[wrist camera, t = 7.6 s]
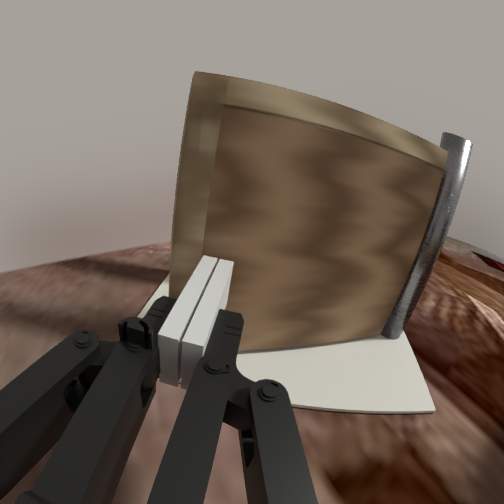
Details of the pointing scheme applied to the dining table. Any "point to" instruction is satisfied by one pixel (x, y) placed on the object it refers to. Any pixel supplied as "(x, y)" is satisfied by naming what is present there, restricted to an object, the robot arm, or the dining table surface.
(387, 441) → the dining table surface
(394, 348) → the mat
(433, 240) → the hinge post
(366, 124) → the gate
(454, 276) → the dining table surface
